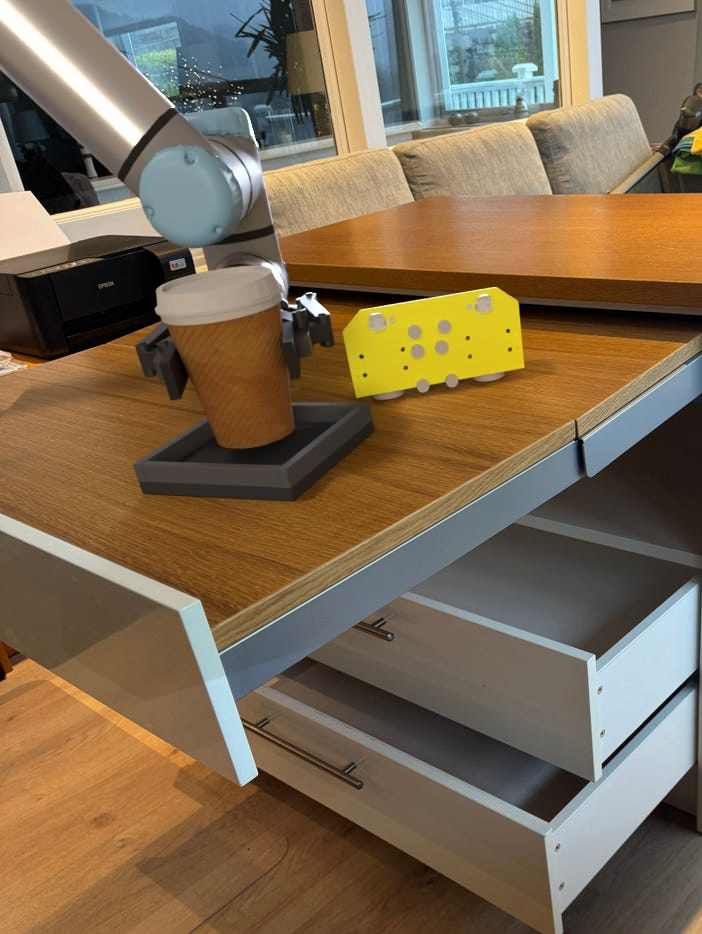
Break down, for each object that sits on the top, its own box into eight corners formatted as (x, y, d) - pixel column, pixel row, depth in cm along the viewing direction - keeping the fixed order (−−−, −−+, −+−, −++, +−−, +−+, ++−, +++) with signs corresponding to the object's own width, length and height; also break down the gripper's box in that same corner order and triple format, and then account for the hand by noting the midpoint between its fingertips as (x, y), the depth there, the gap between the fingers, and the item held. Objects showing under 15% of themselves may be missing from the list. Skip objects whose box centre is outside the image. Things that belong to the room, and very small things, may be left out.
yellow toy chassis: (358, 408, 83) (339, 315, 78) (353, 390, 87) (336, 301, 83) (526, 377, 84) (517, 284, 79) (513, 361, 89) (504, 273, 84)
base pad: (142, 493, 71) (131, 464, 70) (238, 428, 82) (231, 402, 80) (293, 501, 66) (285, 469, 65) (375, 430, 77) (369, 402, 76)
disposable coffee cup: (313, 406, 77) (279, 258, 70) (315, 444, 69) (277, 281, 63) (202, 425, 76) (158, 277, 70) (191, 466, 68) (140, 303, 62)
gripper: (363, 327, 87) (382, 396, 68) (146, 363, 85) (103, 445, 66) (348, 244, 83) (363, 294, 64) (119, 281, 81) (66, 343, 62)
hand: (231, 371), depth 65 cm, fingers closed on disposable coffee cup, 8 cm apart
